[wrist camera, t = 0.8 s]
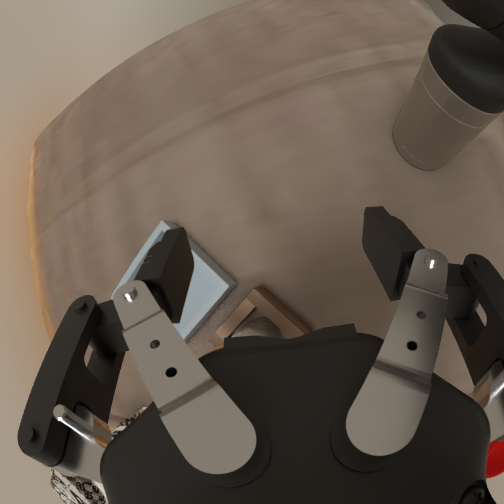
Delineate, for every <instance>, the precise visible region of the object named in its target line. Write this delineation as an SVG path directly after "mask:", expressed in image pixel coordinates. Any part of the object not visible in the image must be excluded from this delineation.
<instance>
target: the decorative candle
mask: <svg viewBox="0 0 504 504" xmlns="http://www.w3.org/2000/svg"><path fill="white" fill-rule="evenodd" d="M146 408H147V407H143V408H142V409H141V410H140V411H137V412H136V415H135V414H132V415H131V416H132V418H128V419H126V420H125V422H121V423H120V425H118V426H117V428H116V429H115V430H114V431H113V432H112V433H111V435H112V439H113V438H114V437H116V436H117V435H118V434H119V433H120V432H121V431H122V430H123V429H124V428H125V427H127V426H128V425H129V424H130V423H131V422H132V421H133V420H134V419H135V418H136V417H137V416H138V415H140V414H141V413H142V412H143V411H144V410H145V409H146ZM50 472H51V475H52V477H51V485H52V487H53V489H54V491H55V492H56V493H57V495H58V496H59V497H60V498H61V499H62V500H63V501H64V502H65V503H66V504H107V503H108V501H107V497H106V493H105V490H104V487H103V484H102V483H99V482H95V481H90V482H84V481H81V480H78V479H76V478H73V477H70V476H66V475H64V474H62V473H59V472H57V471H55V470H52V469H51V471H50Z"/></svg>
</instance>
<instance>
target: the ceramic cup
mask: <svg viewBox="0 0 504 504" xmlns="http://www.w3.org/2000/svg"><path fill="white" fill-rule="evenodd" d="M502 472H504V440H503V441H495V440H494V441H493V442H491V443H490V444H489V450H488V456H487V465H486V478H491V477H494V476H497V475H499V474H501V473H502Z"/></svg>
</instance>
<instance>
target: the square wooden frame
mask: <svg viewBox="0 0 504 504" xmlns="http://www.w3.org/2000/svg"><path fill="white" fill-rule="evenodd" d="M257 317H267V318H268V319H270V320H271V321H272V322H273V323H274V324H275V325H276V326H277V327H278V328H280V331H281V338H284V339H292V338H295V337H298V336H301V335H304V334H307V333H310V332H312V331H311V330H310V329H309V328H308V327H307V326H306V325H305V324H303V323H302V322H301V321H300V320H299V319H298V318H297V317H296V316H295V315H293V314H292V313H291V312H290V311H289V310H288V309H287V308H286V307H284V306H283V305H282V304H281V303H280V302H279V301H278V300H277V299H276V298H275V297H273V296H272V295H271V294H270V293H269V292H268V291H267V290H266V289H265V288H264V287H262V286H259V287H257V288H254V289H253V291H252V292H251V293H250V294H249V295H248V296H247V297H246V298H245V300H244V301H243V302H242V303H241V304H240V305H239V306H238V307H237V309H236V310H235V311H234V312H233V313H232V314H231V315H230V316H229V317H228V319H227V320H226V321H225V322H224V323H223V324H222V325H221V326H220V327H219V329H218V330H217V331H216V332H215V333H214V334H213V335H212V336H211V337H210V338H209V341H210V342H211V343H212V344H213V345H214V346H215V347H216V346H218V345H219V344H222V343H224V337H232V336H233V335H234V334H235V333H237V332H238V331H239V330H240V329H241V328H243V327H244V326H245V325H246V324H247V323H249V322H250V321H251V320H253V319H254V318H257Z"/></svg>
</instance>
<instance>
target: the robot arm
mask: <svg viewBox="0 0 504 504" xmlns="http://www.w3.org/2000/svg"><path fill="white" fill-rule="evenodd" d="M442 1H443V2H444V3H445V4H446V5H447V6H448V7H449V8H450V9H452V10H453V11H455V12H456V13H458V14H460V15H461V16H462V17H464V18H465V19H467V20H469V21H470V22H472V23H474V24H476V25H477V26H479V27H481V28H474V27H468V26H463V25H456V24H448V25H443V26H441V27H439V28H438V29H437V30H436V31H435V32H434V34H433V36H432V39H431V41H430V44H429V47H428V49H427V52H426V54H425V57H424V59H423V62H422V64H421V67H420V69H419V72H418V74H417V76H416V79H415V81H414V83H413V86H412V88H411V90H410V92H409V94H408V97H407V99H406V101H405V103H404V105H403V108H402V109H401V112H400V114H399V116H398V118H397V120H396V122H395V124H394V127H393V140H394V143H395V146H396V148H397V150H398V151H399V153H400V154H401V155H402V157H403V158H404V159H405V160H406V161H407V162H409V163H410V164H411V165H413V166H415V167H417V168H419V169H422V170H436V169H438V168H440V167H441V166H442V165H444V164H445V163H446V162H447V161H448V160H449V159H451V158H452V157H453V156H454V155H455V154H457V153H458V152H459V151H460V150H461V149H462V148H464V147H465V146H466V145H467V144H468V143H469V142H470V141H471V140H473V139H474V138H475V137H476V136H477V135H478V134H479V133H480V132H481V131H483V130H484V129H485V128H486V127H487V126H488V125H489V124H490V123H491V122H492V121H493V120H494V119H495V118H496V117H497V116H498V115H500V114H501V113H502V112H503V111H504V0H442ZM362 242H363V248H364V251H365V253H366V255H367V257H368V259H369V260H370V262H371V264H372V266H373V268H374V270H375V272H376V273H377V275H378V277H379V279H380V281H381V283H382V285H383V287H384V289H385V291H386V293H387V295H388V297H389V299H390V301H395V300H400V302H399V305H398V307H397V310H396V313H395V315H394V318H393V321H392V323H391V326H390V328H389V331H388V333H387V335H386V338H385V340H383V339H381V338H379V337H376V336H373V335H369V334H364V333H357V332H356V329H355V326H354V323H353V324H346V325H340V326H333V327H326V328H322V329H319V330H316V331H313V332H310V333H307V334H304V335H301V336H298V337H295V338H292V339H284V338H275V337H266V336H258V335H254V336H240V337H224V347H222V348H219V349H216V350H213V351H211V352H209V353H207V354H205V355H204V356H202V357H200V358H199V359H197V358H196V356H195V355H194V354H193V352H192V351H191V349H190V348H189V347H188V345H187V344H186V342H185V341H184V340H183V338H182V337H181V335H180V334H179V332H178V331H177V330H176V328H175V327H174V325H173V324H178V323H180V320H181V316H182V312H183V308H184V305H185V301H186V297H187V293H188V290H189V286H190V282H191V279H192V275H193V272H194V258H193V254H192V251H191V248H190V244H189V241H188V238H187V234H186V231H185V229H184V228H183V227H182V228H175V229H168V230H166V232H165V234H164V236H163V238H162V239H161V241H160V242H157V243H156V244H155V245H154V246H152V247H151V248H150V250H149V252H148V253H147V255H146V257H145V259H144V261H143V263H142V265H141V267H140V269H139V271H138V273H137V275H136V276H135V278H134V280H133V281H130V282H127V283H125V284H123V285H122V286H120V287H119V288H118V289H117V290H116V292H115V293H114V296H113V300H110V301H107V302H103V303H100V304H98V303H97V301H96V300H95V298H94V297H93V296H91V295H86V296H82V297H80V298H78V299H77V300H75V301H74V302H73V303H72V304H71V305H70V307H69V308H68V310H67V312H66V314H65V316H64V318H63V320H62V322H61V324H60V326H59V328H58V330H57V332H56V334H55V336H54V338H53V340H52V342H51V344H50V347H49V349H48V351H47V353H46V355H45V358H44V360H43V362H42V365H41V367H40V369H39V372H38V374H37V377H36V379H35V382H34V385H33V387H32V390H31V393H30V395H29V398H28V401H27V404H26V407H25V410H24V414H23V416H22V420H21V423H20V427H19V430H18V444H19V447H20V448H21V450H22V452H23V453H24V454H26V455H28V456H29V457H32V458H33V459H35V460H37V461H39V462H41V463H42V464H43V465H45V466H47V467H49V468H51V469H53V470H55V471H57V472H59V473H62V474H64V475H66V476H70V477H73V478H76V479H78V480H81V481H84V482H90V481H95V482H99V483H102V484H103V487H104V490H105V493H106V497H107V501H108V504H496V502H495V501H494V499H493V498H492V496H491V494H490V492H489V490H488V488H487V484H486V465H487V456H488V450H489V444H490V443H491V442H493V441H494V440H495V441H503V440H504V280H503V278H502V277H501V276H500V274H499V273H498V272H497V270H496V269H495V268H494V267H493V265H492V264H491V263H490V262H489V261H488V260H487V259H486V258H484V257H483V256H481V255H478V254H469V255H467V256H466V257H465V260H464V263H463V265H460V264H450V263H448V261H447V259H446V257H445V256H444V255H443V254H441V253H440V252H438V251H436V250H433V249H425V247H424V246H423V245H422V244H421V243H420V241H419V240H418V239H417V238H416V237H415V235H414V234H412V232H411V231H410V229H408V227H407V226H406V225H405V224H404V223H403V221H401V220H399V219H398V218H396V217H394V216H391V215H390V214H389V213H388V212H387V211H386V210H385V209H384V207H382V206H377V207H366V209H365V212H364V226H363V237H362ZM479 303H480V304H481V306H482V308H483V309H484V311H485V313H486V316H487V323H486V326H484V324H483V323H482V321H481V319H480V317H479V315H478V314H477V312H476V309H477V307H478V305H479ZM445 318H446V320H447V322H448V324H449V326H450V328H451V330H452V333H453V335H454V337H455V339H456V341H457V344H458V346H459V348H460V350H461V353H462V355H463V358H464V360H465V362H466V365H467V368H468V370H469V373H470V375H471V378H472V381H473V384H474V386H475V388H474V391H473V399H472V398H470V397H469V396H467V395H466V394H464V393H463V392H461V391H460V390H459V389H457V388H456V387H454V386H453V385H451V384H450V383H448V382H447V381H445V380H444V379H442V378H441V377H439V376H438V375H436V374H435V373H433V370H434V366H435V362H436V358H437V354H438V350H439V346H440V341H441V337H442V332H443V326H444V321H445ZM88 345H90V346H91V347H92V349H93V351H92V354H91V357H90V360H89V363H88V365H87V367H86V365H85V362H84V356H85V353H86V350H87V347H88ZM129 350H130V353H131V355H132V357H133V359H134V362H135V364H136V366H137V368H138V370H139V372H140V374H141V377H142V379H143V381H144V383H145V385H146V387H147V389H148V391H149V393H150V395H151V396H152V398H153V400H154V401H153V402H152V403H151V404H150V405H149V406H148V407H147V408H146V409H145V410H144V411H143V412H142V413H141V414H140V415H138V416H137V417H136V418H135V419H134V420H133V421H132V422H131V423H130V424H129V425H128V426H127V427H125V428H124V429H123V430H122V431H121V432H120V433H119V434H118V435H117V436H116V437H114V438H113V439H112V435H111V430H110V428H109V426H108V425H107V424H108V419H109V414H110V410H111V405H112V401H113V397H114V393H115V389H116V385H117V381H118V377H119V373H120V369H121V366H122V362H123V358H124V355H125V351H129Z"/></svg>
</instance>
